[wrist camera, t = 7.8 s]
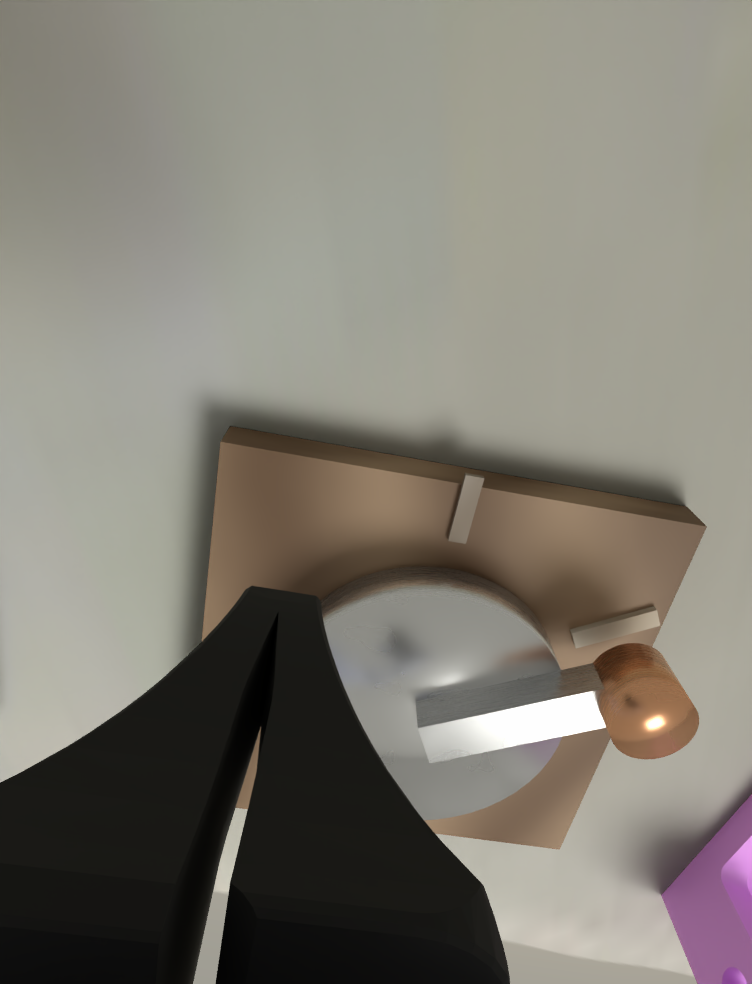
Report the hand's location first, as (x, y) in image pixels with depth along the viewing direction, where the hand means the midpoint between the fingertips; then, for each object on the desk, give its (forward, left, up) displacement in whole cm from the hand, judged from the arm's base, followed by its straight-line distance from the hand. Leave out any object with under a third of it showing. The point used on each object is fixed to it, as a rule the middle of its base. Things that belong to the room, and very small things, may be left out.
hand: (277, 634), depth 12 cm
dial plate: (+5, -8, -10) cm, 14 cm away
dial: (+6, -7, -9) cm, 13 cm away
